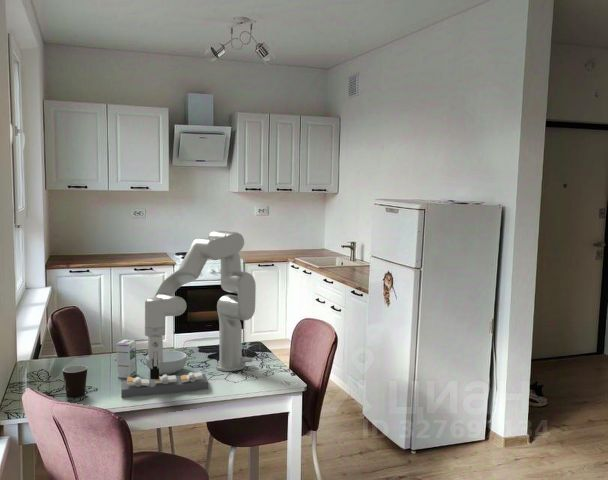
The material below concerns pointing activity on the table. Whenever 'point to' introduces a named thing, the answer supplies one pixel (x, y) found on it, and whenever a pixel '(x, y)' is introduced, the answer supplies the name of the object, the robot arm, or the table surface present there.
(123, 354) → the syrup box
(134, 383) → the rocker
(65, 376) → the coffee mug
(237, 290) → the robot arm
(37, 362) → the table surface
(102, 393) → the table surface
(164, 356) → the cereal bowl
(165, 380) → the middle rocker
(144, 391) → the switch panel
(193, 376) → the rocker
